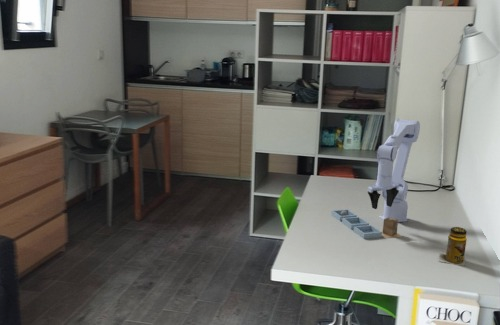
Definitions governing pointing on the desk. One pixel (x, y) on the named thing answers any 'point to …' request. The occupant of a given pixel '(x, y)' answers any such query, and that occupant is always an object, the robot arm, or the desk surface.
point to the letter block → (390, 226)
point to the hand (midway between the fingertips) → (381, 207)
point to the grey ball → (344, 213)
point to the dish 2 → (354, 222)
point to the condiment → (455, 247)
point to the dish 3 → (367, 231)
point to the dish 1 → (338, 216)
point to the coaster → (391, 236)
